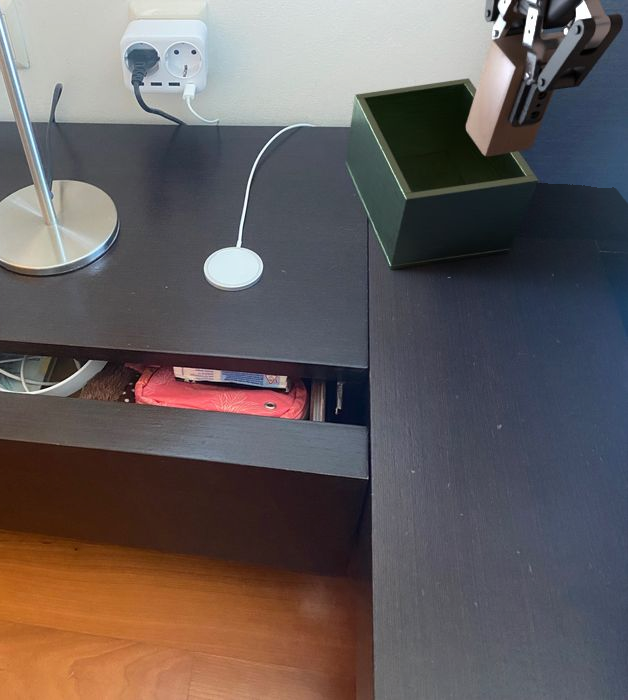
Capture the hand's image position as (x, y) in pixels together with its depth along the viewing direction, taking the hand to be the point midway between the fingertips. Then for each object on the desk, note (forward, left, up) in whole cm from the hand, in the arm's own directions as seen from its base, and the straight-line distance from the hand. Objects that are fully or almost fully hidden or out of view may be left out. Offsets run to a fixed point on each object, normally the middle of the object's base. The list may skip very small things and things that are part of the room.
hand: (509, 103), depth 55 cm
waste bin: (+8, -11, -22) cm, 26 cm away
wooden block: (0, 0, -3) cm, 3 cm away
